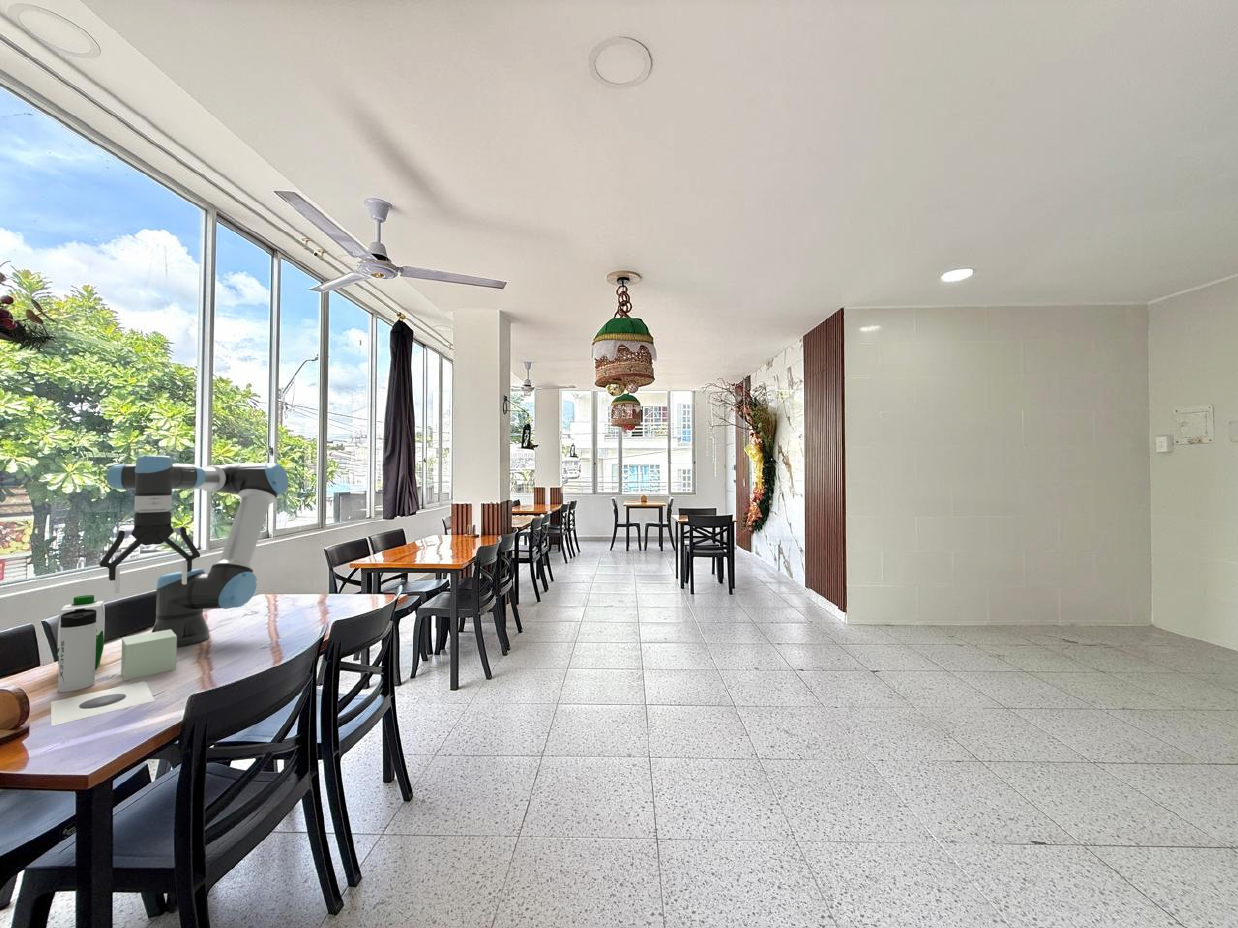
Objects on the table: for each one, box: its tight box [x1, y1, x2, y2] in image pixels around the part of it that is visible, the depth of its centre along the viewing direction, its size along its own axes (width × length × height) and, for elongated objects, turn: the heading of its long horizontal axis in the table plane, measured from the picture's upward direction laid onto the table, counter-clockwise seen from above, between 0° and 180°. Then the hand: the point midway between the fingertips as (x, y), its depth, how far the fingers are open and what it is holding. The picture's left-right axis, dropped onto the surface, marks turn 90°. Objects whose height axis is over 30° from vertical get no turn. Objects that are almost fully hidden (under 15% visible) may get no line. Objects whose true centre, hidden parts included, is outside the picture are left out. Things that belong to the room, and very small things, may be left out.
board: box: [50, 680, 156, 727], centre depth 116 cm, size 18×16×1 cm
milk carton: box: [57, 594, 106, 671], centre depth 139 cm, size 9×9×20 cm
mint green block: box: [120, 629, 178, 681], centre depth 136 cm, size 10×10×10 cm
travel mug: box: [57, 608, 97, 694], centre depth 125 cm, size 6×7×20 cm
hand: (151, 587), depth 137 cm, fingers open, 13 cm apart
